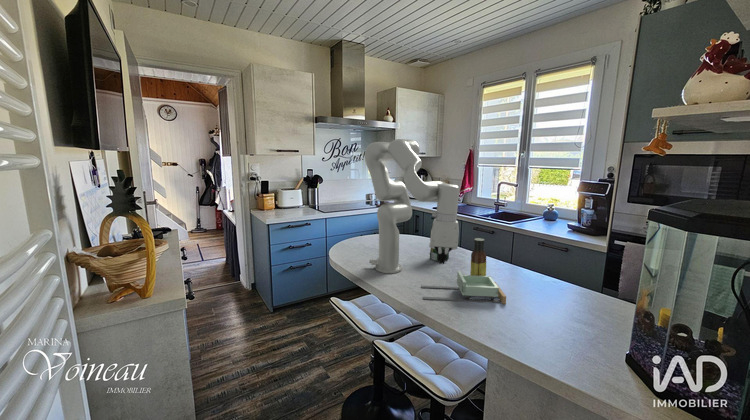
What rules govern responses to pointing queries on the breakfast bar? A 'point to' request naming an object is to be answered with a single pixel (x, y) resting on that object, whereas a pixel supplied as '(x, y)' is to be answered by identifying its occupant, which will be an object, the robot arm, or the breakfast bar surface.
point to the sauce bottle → (478, 258)
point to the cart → (477, 286)
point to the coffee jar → (436, 253)
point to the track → (500, 295)
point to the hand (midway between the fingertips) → (441, 262)
